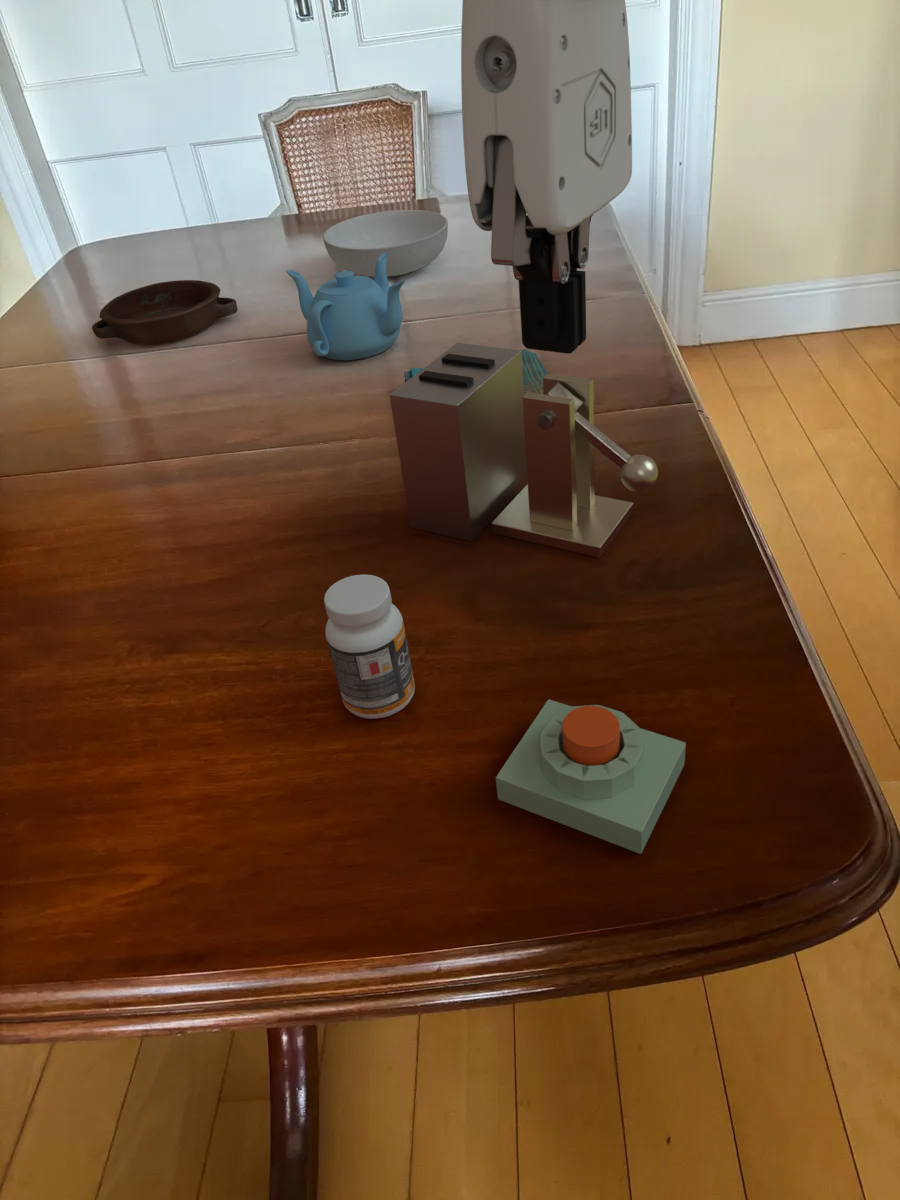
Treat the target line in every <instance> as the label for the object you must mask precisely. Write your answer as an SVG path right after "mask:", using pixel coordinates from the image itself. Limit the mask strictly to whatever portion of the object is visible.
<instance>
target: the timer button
mask: <svg viewBox="0 0 900 1200" xmlns="http://www.w3.org/2000/svg"><path fill="white" fill-rule="evenodd" d="M582 706H583V707H579V708H576V709H574V710H572V711H571V712H570V713H568V714H567V715H566V717H565V718H564V720H563V723H562V734H563V748H564V751H565V753H566V754H567V755H568V757H570V758H571V759H572V760H573V761H575V762H577V763H580V764H583V765H600V764H604V763H606V762H608V761H610V760H611V759H613V758H614V757H615V756H616V754H617V753H618V750H619V742H620V725H619V721H618V719H617V718H616V716H615V715H614V714H613V713H612V712H610V711H609V710H607V709H604V708H602V707H597V706H586V705H582Z"/></svg>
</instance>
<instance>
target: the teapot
mask: <svg viewBox="0 0 900 1200" xmlns="http://www.w3.org/2000/svg"><path fill="white" fill-rule="evenodd" d="M388 255H389V254H388V253H384V254H382V255H381V256H380V257H379V258H378V260H377V263H376V267H375V274H374V277H373V278H372V277H365V276H359V275H355V274H354V272H353V271H345V270H341V271H338V272H336V273H334V275H333V276H334V278H332V279H330V280H328V281H325V282H323V283H322V284H320V286H318V287H317V290H316V291H315V294H314V295H313V293H312V292H311V289H310V287H309V284H308V282H307V280H306V279H305V277H304V276H303V275H302V274H301V273H299V272H298V271H296V270H293V269H286V270H285V273H287V275H289V277H290V278H291V279H292V280H293V282H294V284H295V286H296V289H297V293H298V301H299V308H300V311H301V313H302V317H303V318H304V319H305V321H306V337H307V342H308V344H309V345H310V347H311V348H312V351H313V353H314V355H316V356H318V357H324V358H326V359H329V360H335V361H354V360H361V359H366V358H370V357H373V356H376V355H378V354H381V353H383V352H385V351H386V350H389V348H390V347H391V346H392V345H393V344H394V343H395V341H396V339H397V338H398V336H399V334H400V332H401V328H402V327H401V326H402V323H403V318H404V317H403V316H404V315H403V308H402V303H401V300H400V291H401V288H402V286H403V285H404V283H405V282H406V281H405V280H402V281H399V282H395V283H392V284H391V285H390V283H389V280H388V279H389V278H387V274H386V262H387V259H388Z"/></svg>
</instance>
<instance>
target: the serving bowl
mask: <svg viewBox="0 0 900 1200" xmlns="http://www.w3.org/2000/svg"><path fill="white" fill-rule="evenodd" d="M448 232H449V221H448V219H447V217H446V216H444V215H443V214H440V213H438V212H436V211H432V210H425V209H394V210H393V209H392V210H383V211H379V212H378V211H377V212H371V213H367V214H361V215H358V216H353V217H351V218H348V219H345V220H343V221H340V222H337V223H336V224H334V225H332V226H330V227H329V228H327V229H326V230H325V231H324V233H323V236H322V240H323V243H324V247H325V249H326V252H327V254H328V256H329V258H330V259H331V261H332V262H333V263H334V264H336V265H337V266H338V267H339V268H340V269H342V271H353V272H354V276H365V277H369V278H374V274H375V267H376V263H377V260H378V258H379V257H380V256H381V255H382V254H384V253H388V254H389V255H388V259H387V262H386V274H387V279H389V278H397V277H400V276H405V275H407V274H409V273H412V272H415V271H417V270H420V269H423V268H424V267H427V266H428V265H430V264H431V263H432V262H434V261H435V260H436V259H437V258H438V257H439V256H440V254H441V253H442V252H443V249H444V247H446V246H445V245H446V244H447V243H446V242H447V239H448V234H449V233H448Z"/></svg>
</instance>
